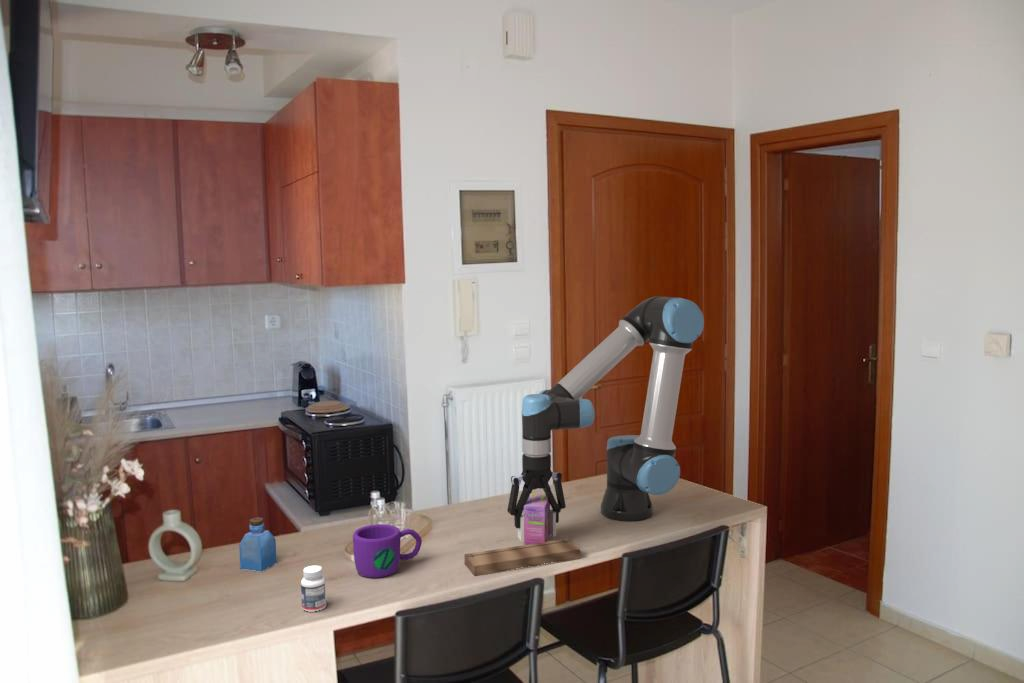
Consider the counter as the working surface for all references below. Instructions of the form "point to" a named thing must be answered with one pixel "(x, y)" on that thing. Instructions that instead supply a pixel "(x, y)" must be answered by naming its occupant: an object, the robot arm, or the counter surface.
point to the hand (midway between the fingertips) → (536, 536)
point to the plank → (521, 556)
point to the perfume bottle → (257, 547)
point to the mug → (380, 549)
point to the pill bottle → (313, 589)
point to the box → (536, 519)
